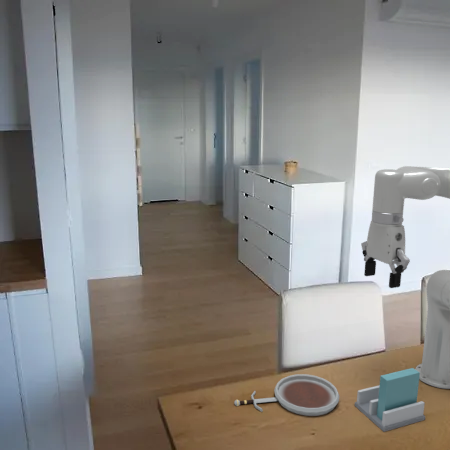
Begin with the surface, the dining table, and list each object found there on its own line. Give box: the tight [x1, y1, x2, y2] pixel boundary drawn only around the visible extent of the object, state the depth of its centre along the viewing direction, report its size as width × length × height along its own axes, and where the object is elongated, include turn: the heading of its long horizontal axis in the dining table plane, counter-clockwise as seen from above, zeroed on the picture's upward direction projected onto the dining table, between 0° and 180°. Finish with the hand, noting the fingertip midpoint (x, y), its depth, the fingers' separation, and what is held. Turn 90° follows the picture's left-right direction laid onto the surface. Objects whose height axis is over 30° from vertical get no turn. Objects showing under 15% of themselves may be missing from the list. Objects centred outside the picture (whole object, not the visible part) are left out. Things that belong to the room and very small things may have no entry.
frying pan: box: [234, 373, 340, 417], centre depth 125 cm, size 17×3×28 cm
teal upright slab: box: [377, 367, 420, 420], centre depth 116 cm, size 10×2×11 cm, turn 112°
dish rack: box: [354, 384, 426, 433], centre depth 119 cm, size 13×11×4 cm
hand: (381, 281), depth 126 cm, fingers open, 9 cm apart
